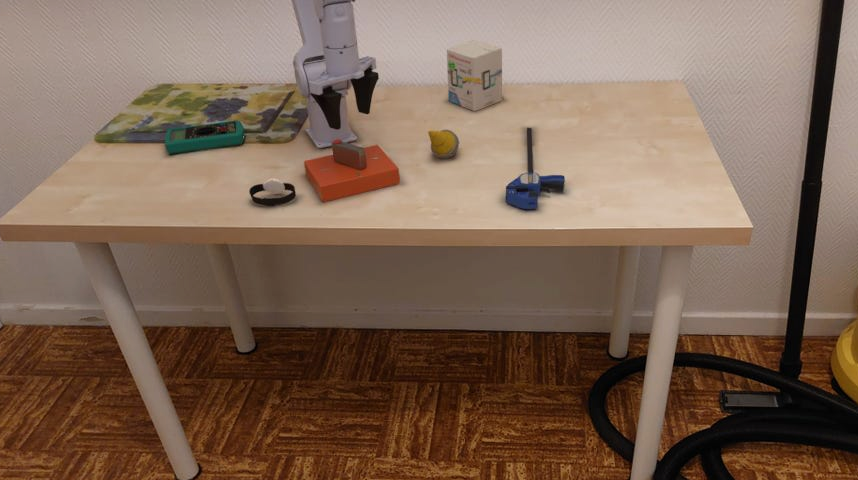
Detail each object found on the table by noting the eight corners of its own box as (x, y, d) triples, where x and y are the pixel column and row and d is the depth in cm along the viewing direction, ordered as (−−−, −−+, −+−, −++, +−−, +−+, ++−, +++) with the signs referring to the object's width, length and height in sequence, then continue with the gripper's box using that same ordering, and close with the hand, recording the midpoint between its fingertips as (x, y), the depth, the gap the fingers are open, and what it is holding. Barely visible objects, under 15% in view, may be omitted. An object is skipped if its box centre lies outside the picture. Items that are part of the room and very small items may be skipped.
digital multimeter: (245, 145, 146) (242, 131, 144) (167, 156, 143) (163, 142, 141) (245, 130, 152) (242, 117, 150) (169, 140, 149) (165, 127, 147)
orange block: (323, 202, 126) (320, 185, 124) (306, 175, 134) (303, 160, 132) (400, 183, 130) (398, 167, 129) (379, 159, 139) (377, 143, 137)
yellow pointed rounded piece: (467, 157, 139) (444, 138, 130) (442, 167, 141) (418, 149, 132) (461, 132, 141) (438, 112, 132) (437, 143, 142) (412, 123, 134)
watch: (298, 193, 129) (295, 174, 127) (294, 206, 125) (290, 187, 123) (254, 194, 129) (250, 176, 127) (248, 208, 125) (244, 189, 123)
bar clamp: (567, 197, 119) (505, 197, 120) (567, 210, 121) (505, 210, 121) (558, 122, 146) (508, 122, 147) (558, 133, 148) (508, 134, 148)
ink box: (447, 101, 161) (445, 48, 154) (476, 90, 165) (474, 38, 159) (474, 112, 155) (473, 57, 149) (503, 100, 160) (503, 47, 153)
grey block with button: (367, 166, 130) (364, 146, 127) (361, 170, 128) (358, 150, 126) (339, 158, 133) (337, 138, 130) (333, 161, 132) (330, 141, 129)
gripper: (327, 60, 116) (338, 140, 124) (386, 35, 126) (393, 110, 133) (295, 53, 120) (308, 131, 127) (355, 29, 129) (364, 103, 137)
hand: (349, 120), depth 131 cm, fingers open, 7 cm apart
